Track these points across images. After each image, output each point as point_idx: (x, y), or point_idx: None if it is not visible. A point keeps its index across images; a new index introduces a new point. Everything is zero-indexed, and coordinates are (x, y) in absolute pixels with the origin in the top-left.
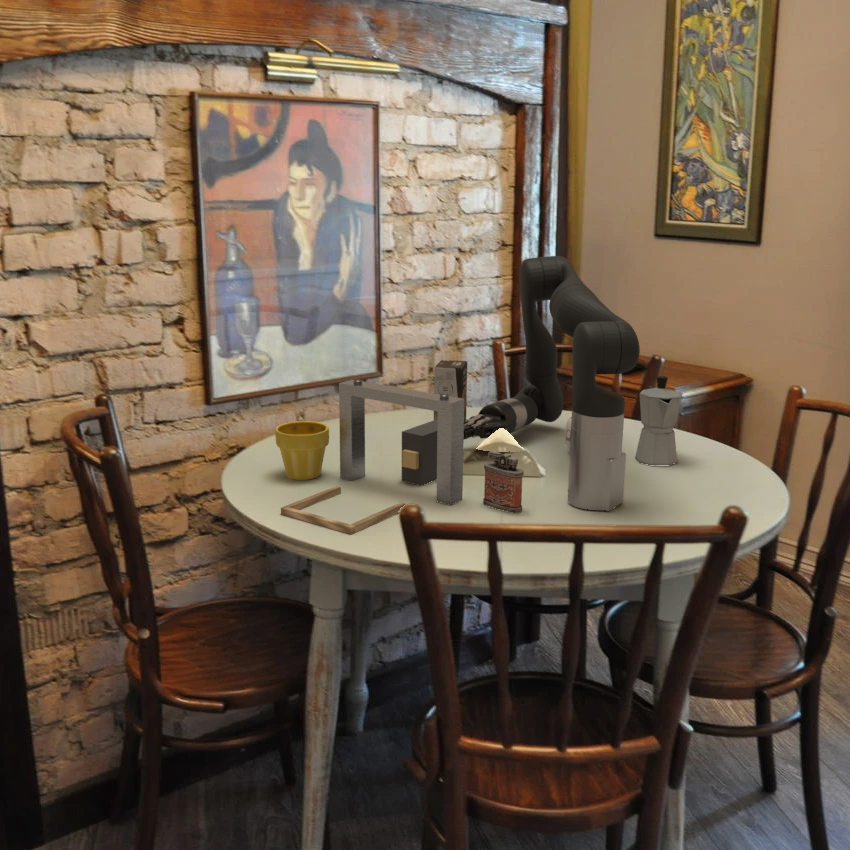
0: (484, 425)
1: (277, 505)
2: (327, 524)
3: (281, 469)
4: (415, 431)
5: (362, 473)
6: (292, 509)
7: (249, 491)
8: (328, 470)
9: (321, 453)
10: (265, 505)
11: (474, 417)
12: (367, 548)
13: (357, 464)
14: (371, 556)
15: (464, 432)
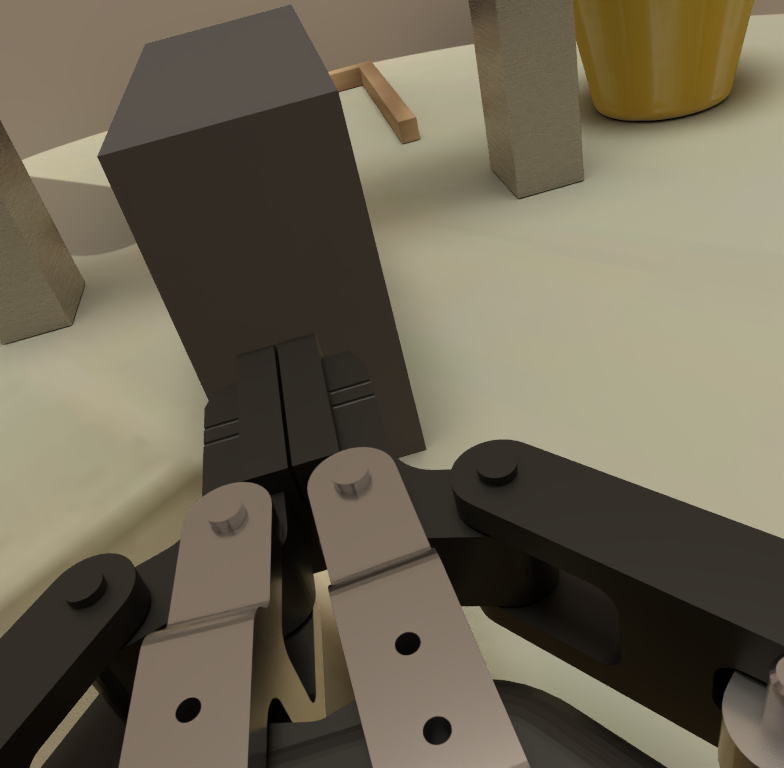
0: (87, 646)
1: (433, 74)
2: None
3: (771, 68)
4: (232, 29)
5: (510, 176)
6: (340, 70)
7: None
8: (676, 139)
9: (579, 16)
10: (452, 63)
11: (498, 725)
12: (82, 147)
13: (494, 117)
14: (53, 148)
15: (228, 392)
